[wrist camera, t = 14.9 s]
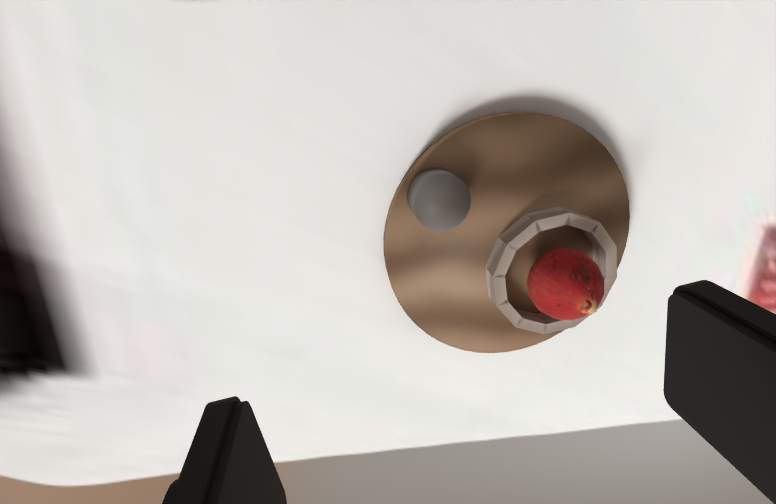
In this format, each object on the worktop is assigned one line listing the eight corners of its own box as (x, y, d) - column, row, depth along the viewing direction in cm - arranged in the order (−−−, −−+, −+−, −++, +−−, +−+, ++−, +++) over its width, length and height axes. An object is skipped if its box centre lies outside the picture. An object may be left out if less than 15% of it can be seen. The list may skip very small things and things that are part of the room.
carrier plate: (358, 144, 35) (363, 151, 31) (619, 86, 36) (657, 86, 32) (407, 367, 43) (416, 397, 39) (619, 314, 44) (649, 338, 40)
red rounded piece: (522, 232, 38) (570, 267, 31) (582, 239, 39) (642, 275, 32) (505, 292, 40) (546, 339, 33) (563, 298, 41) (615, 345, 34)
